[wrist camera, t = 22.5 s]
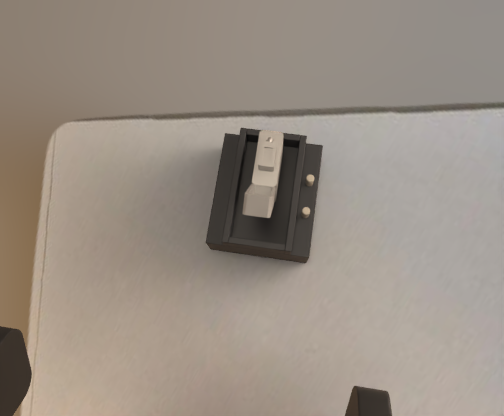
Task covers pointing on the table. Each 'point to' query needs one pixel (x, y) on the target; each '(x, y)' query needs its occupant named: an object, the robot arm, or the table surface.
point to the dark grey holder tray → (285, 207)
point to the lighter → (264, 175)
